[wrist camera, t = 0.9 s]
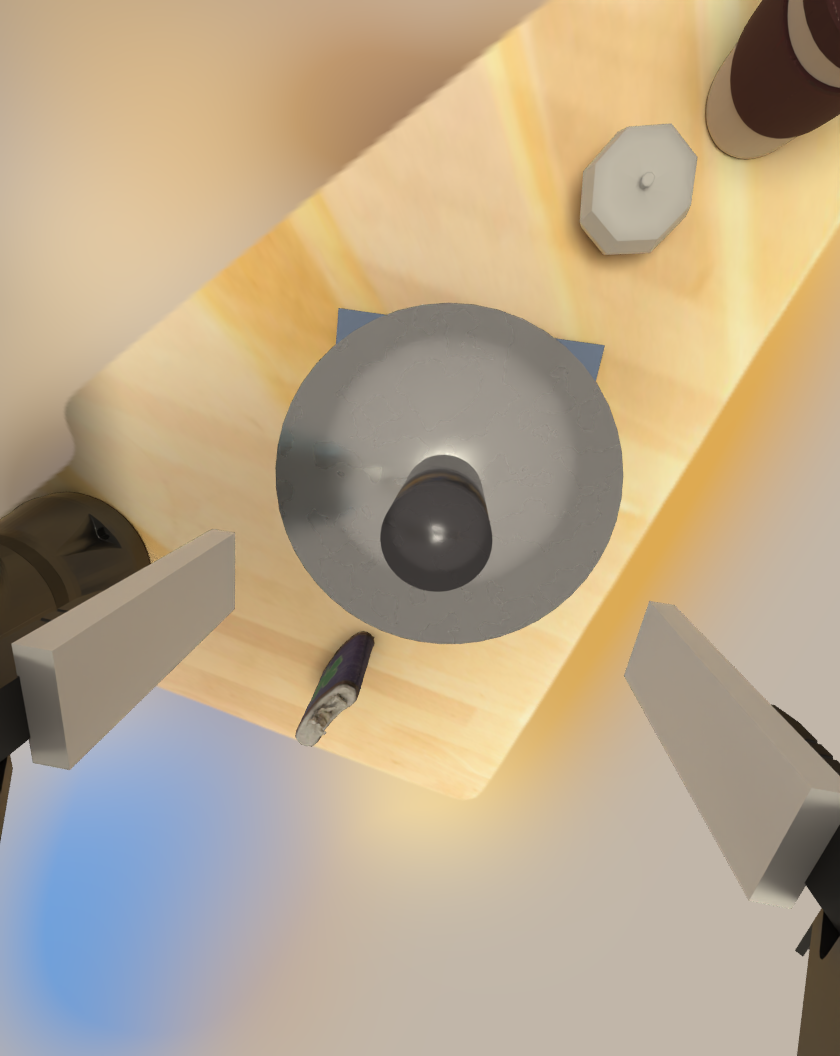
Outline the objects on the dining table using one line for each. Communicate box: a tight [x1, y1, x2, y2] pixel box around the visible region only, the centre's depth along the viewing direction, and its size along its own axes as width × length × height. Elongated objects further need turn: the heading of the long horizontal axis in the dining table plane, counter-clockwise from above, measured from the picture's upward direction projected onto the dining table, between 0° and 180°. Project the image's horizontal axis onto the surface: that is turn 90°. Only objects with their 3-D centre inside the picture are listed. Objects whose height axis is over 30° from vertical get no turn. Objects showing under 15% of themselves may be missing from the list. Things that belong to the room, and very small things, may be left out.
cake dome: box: [276, 303, 623, 644], centre depth 31 cm, size 22×22×23 cm
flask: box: [295, 631, 374, 747], centre depth 45 cm, size 9×3×11 cm, turn 142°
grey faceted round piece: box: [580, 124, 697, 255], centre depth 32 cm, size 8×8×7 cm
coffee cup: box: [706, 0, 840, 159], centre depth 25 cm, size 10×10×15 cm
